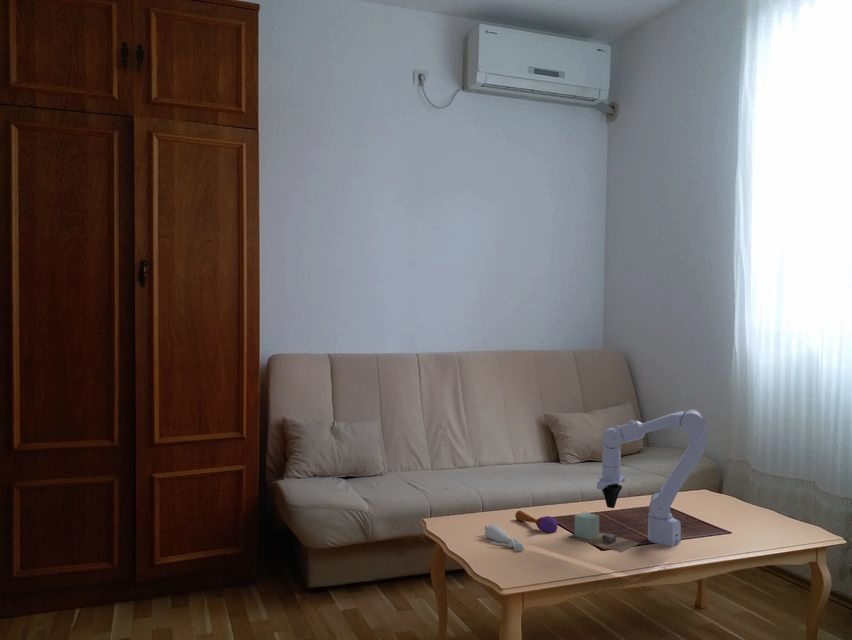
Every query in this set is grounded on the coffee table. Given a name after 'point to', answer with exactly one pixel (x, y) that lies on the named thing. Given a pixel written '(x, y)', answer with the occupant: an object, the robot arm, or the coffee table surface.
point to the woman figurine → (502, 537)
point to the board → (613, 546)
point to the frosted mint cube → (587, 525)
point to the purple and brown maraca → (539, 522)
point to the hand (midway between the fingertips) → (610, 507)
